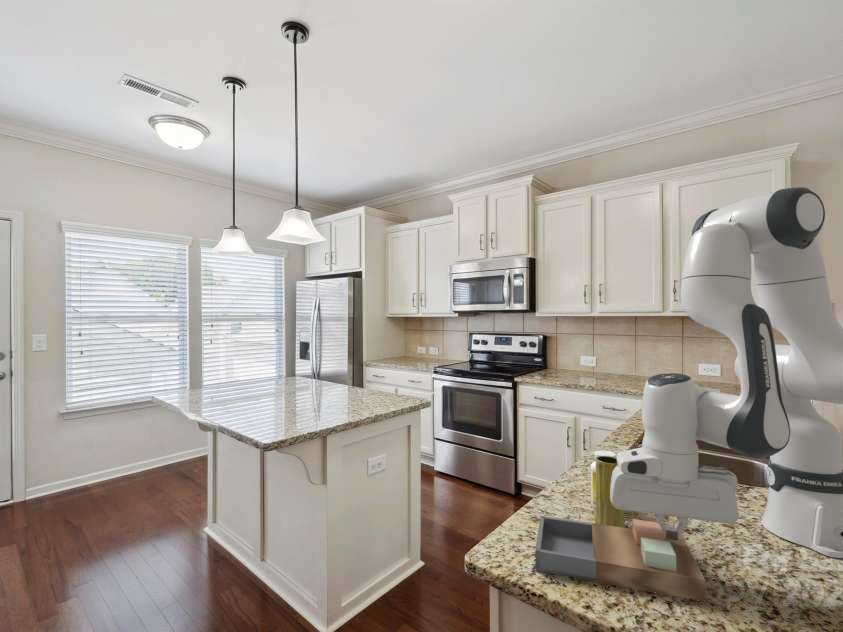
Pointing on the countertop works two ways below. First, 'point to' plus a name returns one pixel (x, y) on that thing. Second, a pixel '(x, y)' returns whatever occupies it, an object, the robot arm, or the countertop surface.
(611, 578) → the board
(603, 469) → the vase
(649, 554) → the tile sage
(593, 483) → the supplement bottle
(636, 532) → the tile terracotta
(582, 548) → the tray
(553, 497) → the countertop surface
